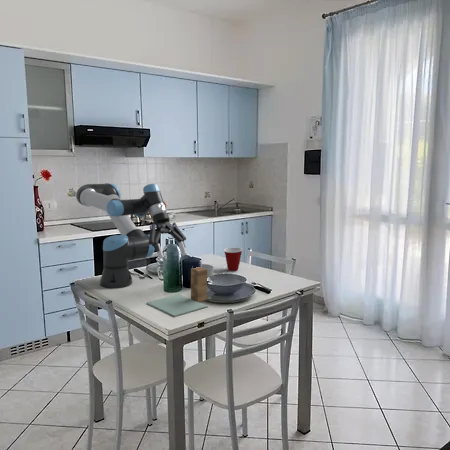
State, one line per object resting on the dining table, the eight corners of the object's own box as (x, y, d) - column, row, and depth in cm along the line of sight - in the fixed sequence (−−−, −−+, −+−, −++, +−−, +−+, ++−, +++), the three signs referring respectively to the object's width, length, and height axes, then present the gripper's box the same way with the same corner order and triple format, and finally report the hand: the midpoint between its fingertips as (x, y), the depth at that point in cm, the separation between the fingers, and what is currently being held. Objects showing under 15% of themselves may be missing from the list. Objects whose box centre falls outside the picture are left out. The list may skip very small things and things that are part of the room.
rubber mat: (146, 303, 179) (146, 302, 179) (178, 295, 190) (178, 294, 190) (174, 317, 165) (174, 315, 164) (207, 307, 176) (207, 305, 176)
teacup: (202, 277, 221) (202, 262, 220) (218, 281, 214) (218, 265, 213) (183, 282, 210) (183, 267, 209) (199, 287, 203) (199, 271, 202)
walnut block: (190, 299, 186) (190, 268, 184) (199, 296, 189) (199, 266, 187) (197, 302, 182) (198, 270, 180) (206, 299, 186) (207, 268, 183)
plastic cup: (220, 267, 240) (220, 247, 239) (238, 266, 244) (238, 246, 242) (226, 272, 230) (226, 251, 228) (244, 271, 233) (245, 250, 232)
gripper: (141, 211, 186) (155, 256, 181) (184, 210, 204) (198, 250, 199) (133, 219, 191) (146, 262, 185) (175, 217, 209) (189, 256, 203)
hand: (173, 256), depth 192 cm, fingers open, 13 cm apart
